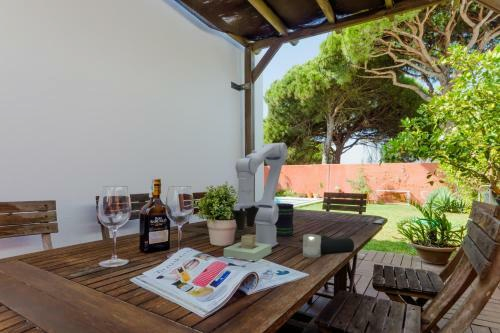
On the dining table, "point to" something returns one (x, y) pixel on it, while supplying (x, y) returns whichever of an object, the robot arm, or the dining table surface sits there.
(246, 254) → the hole plate
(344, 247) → the pipe connector
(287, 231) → the storage jar
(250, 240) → the square peg
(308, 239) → the round peg
